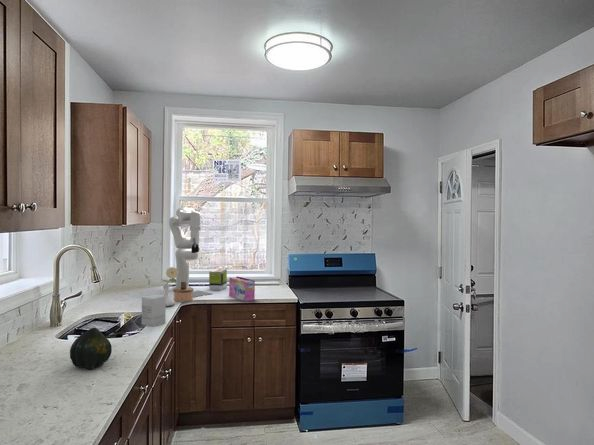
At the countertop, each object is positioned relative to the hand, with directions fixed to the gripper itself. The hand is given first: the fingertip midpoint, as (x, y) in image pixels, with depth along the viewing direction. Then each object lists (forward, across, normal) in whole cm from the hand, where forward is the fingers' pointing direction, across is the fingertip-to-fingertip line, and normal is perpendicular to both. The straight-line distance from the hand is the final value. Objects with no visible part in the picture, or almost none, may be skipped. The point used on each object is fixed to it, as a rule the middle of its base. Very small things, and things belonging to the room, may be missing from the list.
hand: (195, 252), depth 296 cm
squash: (+36, +135, -12) cm, 140 cm away
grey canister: (+34, +74, -7) cm, 82 cm away
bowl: (+32, +12, -6) cm, 34 cm away
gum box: (+32, +5, +34) cm, 47 cm away
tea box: (+31, -30, +12) cm, 45 cm away
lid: (+26, +12, -5) cm, 29 cm away
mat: (+31, -6, -1) cm, 32 cm away
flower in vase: (+32, +31, -11) cm, 46 cm away
